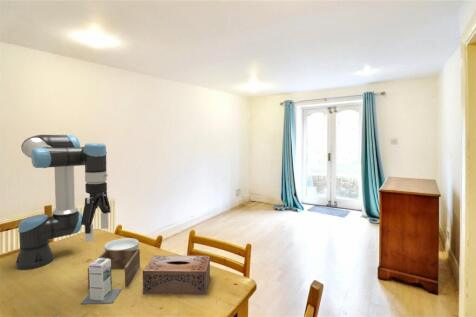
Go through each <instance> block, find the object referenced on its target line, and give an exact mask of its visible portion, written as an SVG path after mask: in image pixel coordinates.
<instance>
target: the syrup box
mask: <svg viewBox="0 0 476 317" xmlns="http://www.w3.org/2000/svg"><path fill="white" fill-rule="evenodd" d="M97 258H98V257H97ZM97 258H96V259H97ZM96 259H95V260H94V261H92V262H91V263H88V267H89V281H90V289H89V292H90V299H91V300H100V301H104V300H105V299H106V298H107V297H108V296H109V295H110V294H111V293H112V289H113V282H112V280H113V277H112V269H111V259H109V258H98V259H97V260H96Z"/></svg>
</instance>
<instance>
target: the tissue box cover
mask: <svg viewBox="0 0 476 317" xmlns="http://www.w3.org/2000/svg"><path fill="white" fill-rule="evenodd" d="M210 278H211V256H210V255H179V254H178V255H171V254H170V255H169V254H167V255H166V254H164V255H163V254H161V255H160V254H158V255H157V254H156V255H155V254H154V255H152V257H151V259H150V260H149V261H148V263H147V264H146V265H145V267H144V268H143V269H142V295H198V296H201V295H203V296H205V295H207V290H208V287H209V282H210ZM204 294H205V295H204Z"/></svg>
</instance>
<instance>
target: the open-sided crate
mask: <svg viewBox="0 0 476 317" xmlns="http://www.w3.org/2000/svg"><path fill="white" fill-rule="evenodd" d="M140 255H141V254H140V249H139V248H138V249H133V250H105V249H104V251H103V253H102V254H100V255H99V256H98V257H97V258H96V259H95V260H97V259H98V258H109V259H111V270H113V269H114V270H116V269H118V270H120V269H122V270H123V269H124V287H125V289H127V288H129V286H130V284H131V283H132V281H133V279H134V278H135V277H136V275H137V272H138V271H139V269H140V267H141V256H140ZM87 286H88V288H87V289H88V290H90V281H89V266H88V267H87Z"/></svg>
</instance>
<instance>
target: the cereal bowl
mask: <svg viewBox="0 0 476 317" xmlns="http://www.w3.org/2000/svg"><path fill="white" fill-rule="evenodd" d="M139 247H140V245H139V240H138V239H136V238H133V237H132V238H131V237H126V238H118V239H115V240H114V239H113V240H110V241H108V242H107V243H105V245H104V251H105V250H133V249H139Z"/></svg>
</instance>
